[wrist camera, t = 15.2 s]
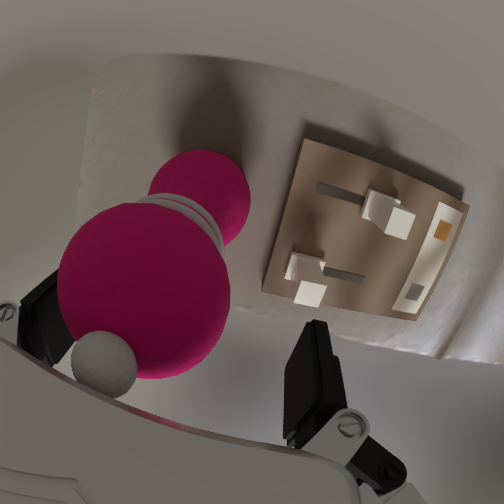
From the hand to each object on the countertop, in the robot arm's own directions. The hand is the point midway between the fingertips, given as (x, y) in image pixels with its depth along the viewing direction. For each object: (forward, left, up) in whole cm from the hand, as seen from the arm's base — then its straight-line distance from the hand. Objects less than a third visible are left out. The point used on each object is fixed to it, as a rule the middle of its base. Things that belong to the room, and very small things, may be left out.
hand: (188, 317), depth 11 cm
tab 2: (-12, -4, -13) cm, 18 cm away
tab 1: (-7, +3, -13) cm, 15 cm away
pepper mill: (+3, -2, -15) cm, 15 cm away
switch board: (-13, -1, -15) cm, 20 cm away
